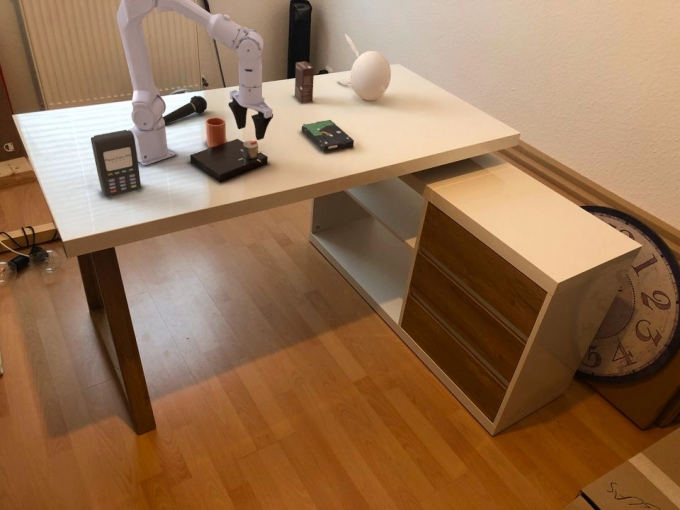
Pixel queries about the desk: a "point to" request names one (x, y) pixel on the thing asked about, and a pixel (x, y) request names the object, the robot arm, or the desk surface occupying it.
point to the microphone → (187, 109)
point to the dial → (250, 149)
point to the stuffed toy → (368, 74)
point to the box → (304, 82)
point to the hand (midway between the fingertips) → (250, 133)
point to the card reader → (116, 162)
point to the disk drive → (327, 136)
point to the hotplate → (226, 161)
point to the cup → (215, 131)
